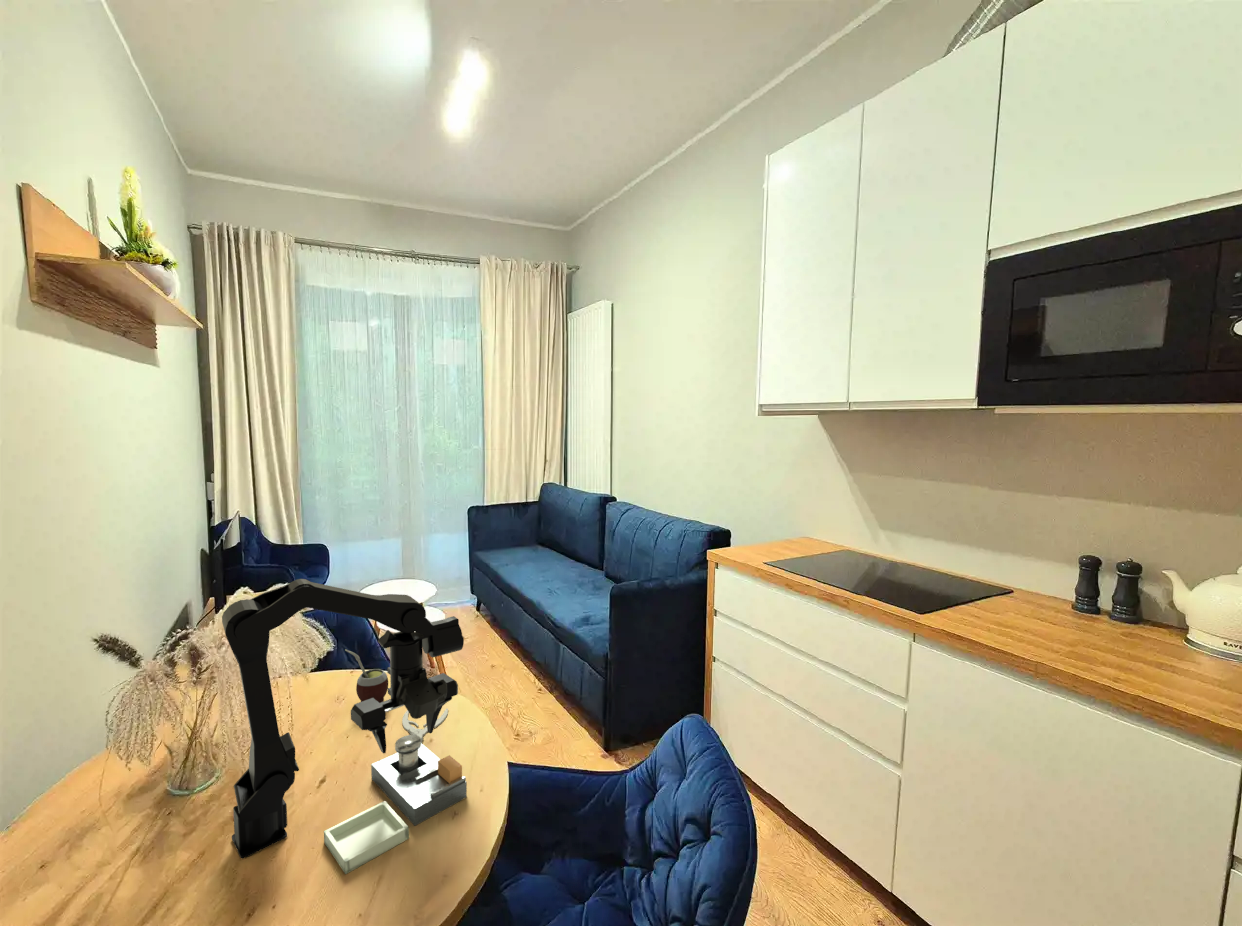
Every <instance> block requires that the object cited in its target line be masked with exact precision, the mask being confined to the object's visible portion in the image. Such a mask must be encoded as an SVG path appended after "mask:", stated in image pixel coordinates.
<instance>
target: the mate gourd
mask: <svg viewBox="0 0 1242 926" xmlns="http://www.w3.org/2000/svg"><path fill="white" fill-rule="evenodd" d="M344 651H345V652H346V653H349V654H350V655H352V656H353V657H354V658H355V660H356V662H358V665H359V667H360V669H361V672H362V673H361V674H360V675H359V677H358V678H357V680H356V686H355V687H356V688H355V690H356V695H357V697H358V699H359V700H360V702H362V701H365V700H368V699H371V698H374V699H375V700H376V701H378V702H379V703H381V702H384V701H385V696H386V695H387V694H388V688H389V679H388V673H386V672H385V671H384V670H383V669H380V668H373V669H368V670H365V667H364V666H363V663H362V661H361V658H360V656H359V655H358V654H357V653H355V652H353V651H351V650H348V649H344Z"/></svg>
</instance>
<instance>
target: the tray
mask: <svg viewBox="0 0 1242 926" xmlns="http://www.w3.org/2000/svg"><path fill="white" fill-rule="evenodd" d="M409 830H410V827H409V826H408V825H407V823H406V822H405V821H404V820H403V819H402V818H401V817H400V815H398V814H397V812H395V810H394V809H393V808H392V807H391V806H390V805H389V804H388V802H387V801H386V800H384V801H381V802H379V803H378V804H376V805H374V806H372V807H369V808H368V809H366V810H363V811H361V812H359V813H357V814H355V815H353V816H351V817H350V818H348V819H345V820H344V821H341V822H339V823H338V824H336V825H334V826H332V827H330V828H327V829H326V830H323V842H324V845H325V846H326V848H327V849H328V851H329V852H330V853H331V855H332V857H333V858H334V859H335V861H336V862H337V864H338V865H339V867H340V868H341V870H342V871H343V873H344V875H348V874H349V873H350V872H352V871H354V870H357V869H358V868H360V867H361V866H363V865H365V864H366V863H368V862H370V861H371V860H373V859H375V858H376V857H378V856H380V855H382V854H385V852H388V851H389V850H391V849H394V848H395V847H397V846H398V845H400V844H402V843H403V842H405V841H407V840H408V839H410V833H409V832H410V831H409Z"/></svg>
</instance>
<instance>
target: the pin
mask: <svg viewBox="0 0 1242 926" xmlns="http://www.w3.org/2000/svg"><path fill="white" fill-rule="evenodd" d="M394 745H395V746H394V747H395V749H394V750H395V752H396V753H399V774H400V775H401V776H403V775H405V774H407V773H409V772H411V771H413V770H415V769H417V768H418V749H419V748H420V746H421V738H420V737H419V736H417V735H410V734H408V735H405V736H404V735H403V736H401V737H400V738H397V740H396V741H395V743H394Z"/></svg>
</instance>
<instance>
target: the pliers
mask: <svg viewBox="0 0 1242 926" xmlns="http://www.w3.org/2000/svg"><path fill="white" fill-rule="evenodd" d="M448 714H449V708H447V707H446V708H445V710H444V711H443V713H442V714H441V715H440V717H438V718H437V721H436V724H435V726H434V729H435V728H438V727H439V726H440V725H441V724H442V723H443V722H444V721H445V719H446V718H447V716H448ZM409 715H410V713H409V712H408V710H407V709H406V711H405V712H404V714H403V715H402V721H401V723H402V727H403V729H404V730H405V731H406V732H408V733H409V735H417V736H419V737H420V738H421V743H422V742H423V741H424V740H423V739H424V737H425V735H426V734H427V733H429V732H428V730H427V723H424V724H423V725H422V726H423V728H422V729H421V728H419V724H418V723H417V722H416V721H413V720H409ZM414 725H415V726H414ZM422 744H423V743H422Z"/></svg>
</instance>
